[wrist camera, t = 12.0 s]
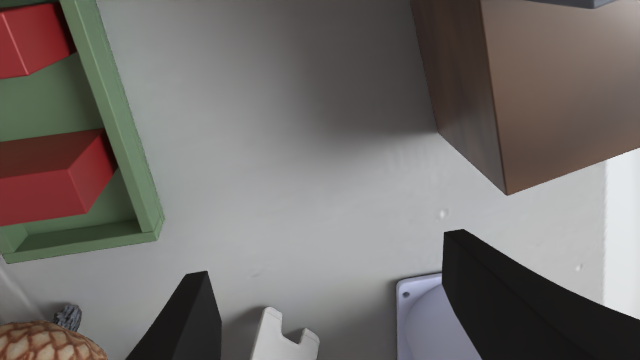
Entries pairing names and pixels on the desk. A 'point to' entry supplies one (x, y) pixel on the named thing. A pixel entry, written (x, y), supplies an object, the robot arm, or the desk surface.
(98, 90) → the green book tray
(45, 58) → the rack books
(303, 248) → the desk surface
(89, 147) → the red book
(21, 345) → the acorn
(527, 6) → the wood grain box
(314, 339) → the tablet stand
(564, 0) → the grey books
